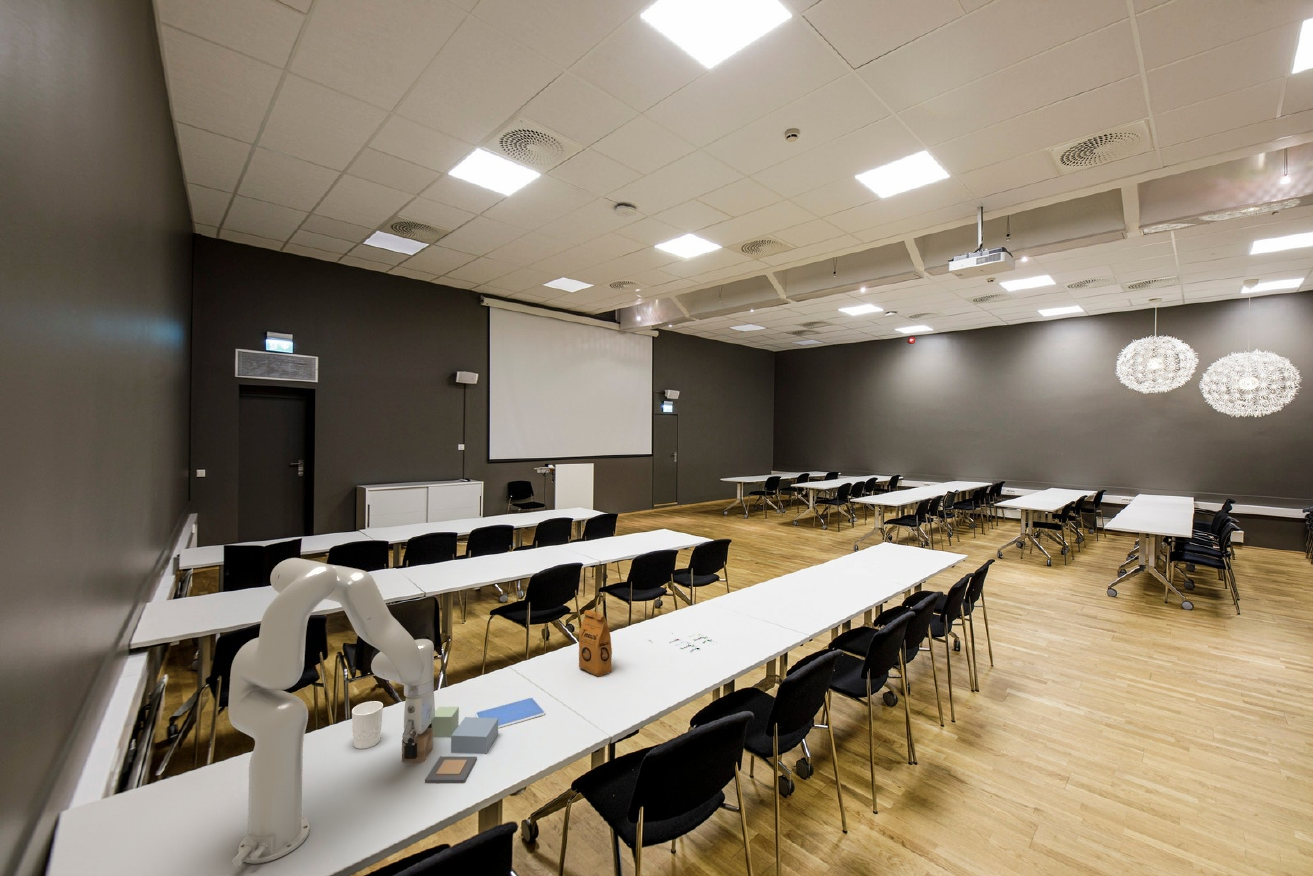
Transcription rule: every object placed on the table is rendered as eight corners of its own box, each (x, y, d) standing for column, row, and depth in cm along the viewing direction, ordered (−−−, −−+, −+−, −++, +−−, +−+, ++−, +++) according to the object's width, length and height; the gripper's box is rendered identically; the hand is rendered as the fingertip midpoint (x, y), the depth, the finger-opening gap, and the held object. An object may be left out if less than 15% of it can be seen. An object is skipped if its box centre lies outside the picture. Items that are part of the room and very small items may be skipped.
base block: (486, 754, 149) (486, 736, 149) (450, 753, 149) (451, 735, 149) (498, 735, 159) (498, 718, 159) (465, 733, 159) (465, 717, 159)
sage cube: (451, 737, 157) (451, 717, 157) (430, 737, 157) (431, 716, 157) (458, 726, 163) (458, 706, 163) (438, 726, 163) (438, 706, 163)
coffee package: (595, 679, 196) (595, 619, 196) (575, 669, 205) (576, 611, 205) (615, 671, 203) (616, 614, 203) (595, 661, 212) (596, 606, 212)
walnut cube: (423, 762, 145) (424, 739, 145) (401, 761, 145) (402, 739, 145) (432, 749, 151) (433, 727, 151) (411, 749, 151) (411, 727, 151)
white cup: (347, 752, 149) (348, 716, 149) (355, 737, 156) (356, 702, 156) (378, 748, 151) (379, 712, 151) (385, 733, 158) (385, 699, 158)
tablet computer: (484, 734, 160) (485, 730, 160) (474, 716, 170) (474, 711, 170) (546, 716, 170) (546, 712, 170) (532, 700, 181) (532, 696, 181)
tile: (464, 783, 136) (464, 778, 136) (424, 782, 136) (425, 778, 136) (476, 759, 146) (476, 755, 146) (440, 759, 146) (440, 755, 146)
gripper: (419, 702, 139) (418, 767, 140) (444, 672, 157) (443, 730, 157) (390, 702, 139) (389, 767, 139) (418, 672, 157) (418, 730, 157)
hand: (418, 747), depth 148 cm, fingers open, 9 cm apart
